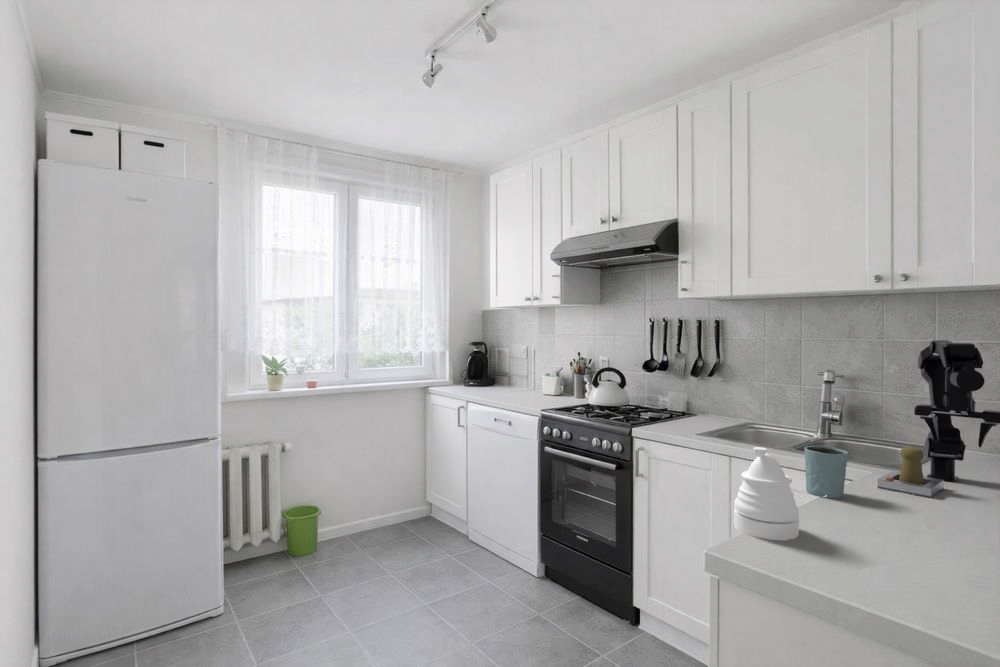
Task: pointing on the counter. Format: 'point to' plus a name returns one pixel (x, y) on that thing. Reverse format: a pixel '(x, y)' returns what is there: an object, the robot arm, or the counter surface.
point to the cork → (911, 465)
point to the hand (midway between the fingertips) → (958, 444)
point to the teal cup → (825, 471)
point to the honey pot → (766, 501)
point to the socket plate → (911, 485)
